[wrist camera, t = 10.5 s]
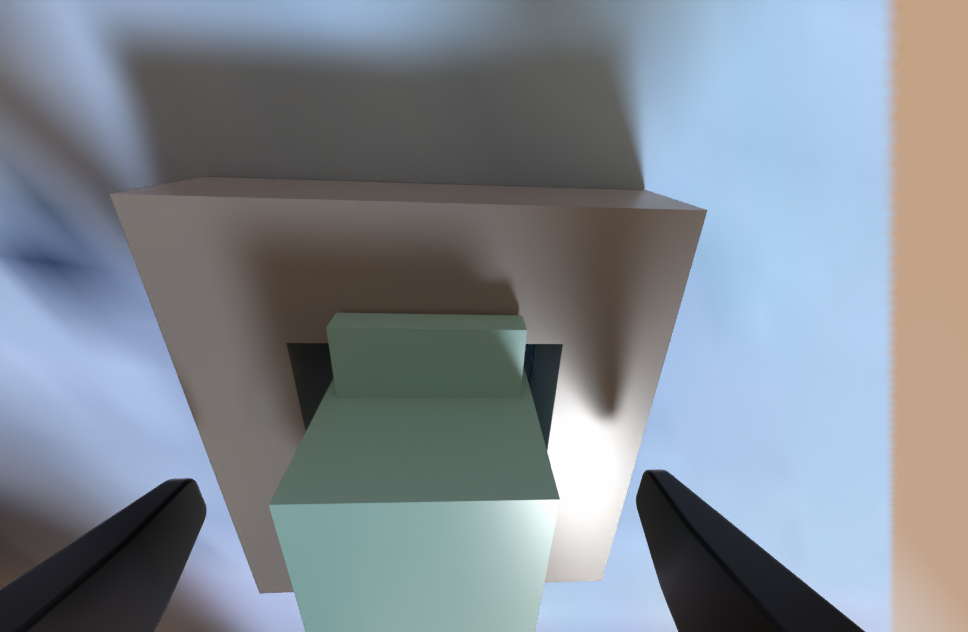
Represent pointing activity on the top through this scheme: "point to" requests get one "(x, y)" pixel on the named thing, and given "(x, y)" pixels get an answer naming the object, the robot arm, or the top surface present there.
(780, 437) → the top surface
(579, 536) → the pocket plate
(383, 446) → the block
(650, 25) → the top surface
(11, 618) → the robot arm
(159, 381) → the top surface
